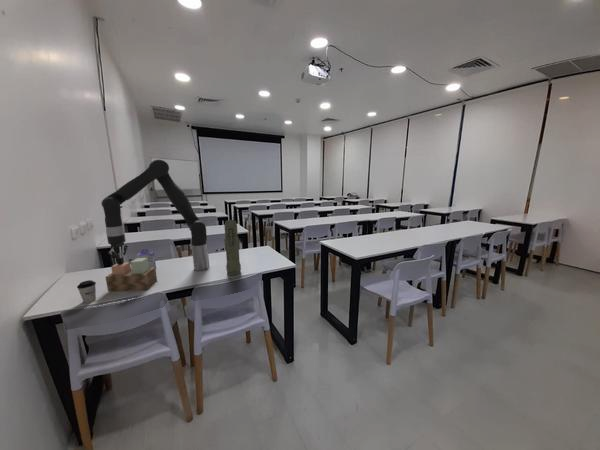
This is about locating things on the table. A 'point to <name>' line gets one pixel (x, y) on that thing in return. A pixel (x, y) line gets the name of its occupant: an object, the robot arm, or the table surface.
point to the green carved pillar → (232, 248)
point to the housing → (131, 281)
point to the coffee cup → (87, 291)
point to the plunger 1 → (121, 268)
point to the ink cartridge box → (148, 255)
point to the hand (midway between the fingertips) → (120, 264)
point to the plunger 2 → (139, 265)
